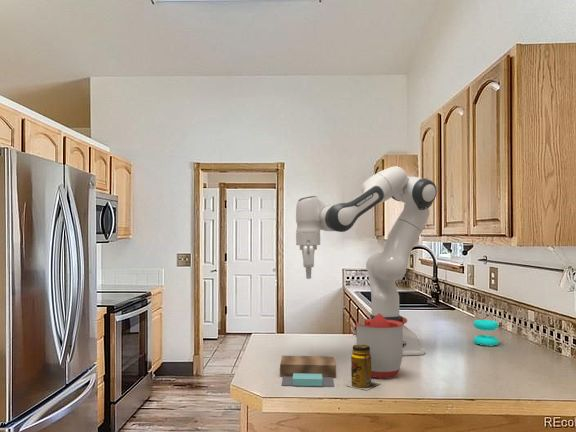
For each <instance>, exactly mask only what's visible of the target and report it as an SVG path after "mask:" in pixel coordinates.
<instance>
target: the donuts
mask: <svg viewBox="0 0 576 432" xmlns="http://www.w3.org/2000/svg"><path fill="white" fill-rule="evenodd" d="M472 323H473V324H472V325H473V327H474V328H475V329H477V330H480V331H491V332H492V331H496V329H498V328H499V323H498V322H497V321H496V320H492V319H491V320H490V319H476V320H474V321H473V322H472ZM473 343H474V344H475V343H477V344H482V345H497V344H498V345H499V339H498V338H497V337H495V336H492V335H488V334H480V335H479V334H478V335H475V336H474V338H473ZM477 344H476V345H477ZM498 345H497V346H498Z"/></svg>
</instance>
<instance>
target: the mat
mask: <svg viewBox="0 0 576 432" xmlns="http://www.w3.org/2000/svg"><path fill="white" fill-rule="evenodd" d="M281 387H297V386H296V385H293V377H282V380H281ZM315 387H319V388H320V387H321V388H322V387H324V388H330V387H331V388H335V383H334V378H333V377H322V386H315Z"/></svg>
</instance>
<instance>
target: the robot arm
mask: <svg viewBox="0 0 576 432" xmlns="http://www.w3.org/2000/svg"><path fill="white" fill-rule="evenodd" d="M436 198H437V186H436V183H434V181H432V180H430V179H429V178H424V177H418V176H413V175H412V176H408V174H407V173H406V170H404V169H403V167H400V166H396V165H394V166H391V167H388V168H385V169H382V170H380V171H379V172H377V173H375V174H373V175H371V176H369V178H367V179H366V180H365V181H364V182H363V183H362V185H361V194H359V195H357V196H356V197H355V198H353V199H352V200H351V201H348V202H340V203H336V204H329V203H326V202H325V201H323V200H321V199H320V198H319V197H318V196H317V195H311V196H305V197H302V198H299V199H298V200H297V202H296V210H295V223H296V230H295V243H296V244H295V245H296V246H299V250H300V251H301V254H302V260H303V262H302V263H303V268H305V277H306V280H307V279H308V280H310V279H312V271H313V270H312V268H314V267H315V266H314V265H315V251H316V250H318V246H320V245H321V231H324V232H339V233H343V232H347V231H349V230H350V229H351V228H353V226H354V225H355V223H356V221H357V220H358V219H359V218H360V217H361V216H362V215H363V214H365V213H367V212H368V211H369V210H371V209H372V208H374V207H375V206H378V205H380V204H383V203H385V202H386V201H388V200H390V199H393V200H394V201H397V202H402V203H403V204H404V205H403V209H402V212H400V214H399V216H398V217H397V219H396V220H395V222H394V224H393V225H392V228H391V229H390V231H389V233H388V234H387V240H386V242H385V245H384V248H383V250H382V252H376V253H374V254H372V255H371V256H369V257H368V258H367V260H366V263H365V264H366V265H365V269H366V270H367V275H368V281H369V282H368V283H369V287H370V288H369V289H370V295H371V297H370V298H371V303H370V304H371V314H370V318H369V319H373V318H374V317H375V316H376V315H377V314H379V313H380V314H381V315H382V316H383V317H384V318H385V319H386V320H394V321H399V322H402V323H403V353H402V356H424V355H425V354H426V349H425V348H424V347H422V346H420V341H419V337H418V335H417V334H416V333H415V332H414V331H412V329H410V328H408V326H406V325H405V324H407V323H408V319H407V318H406V317H404V316H402V315H400V294H399V291H398V289H397V285H396V281H399V280H401V279H403V278H404V277H405V275H406V273H407V264H408V262H409V258H410V255H411V253H412V250H413V248H414V246H415V245H416V242H417V241H418V239H419V237H420V236H421V234H422V232H423V231H424V229H425V227H426V224H427V222H428V220H429V217H430V209H429V208H430V207H431V206H432V205H433V203H434V201H435V199H436Z"/></svg>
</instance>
